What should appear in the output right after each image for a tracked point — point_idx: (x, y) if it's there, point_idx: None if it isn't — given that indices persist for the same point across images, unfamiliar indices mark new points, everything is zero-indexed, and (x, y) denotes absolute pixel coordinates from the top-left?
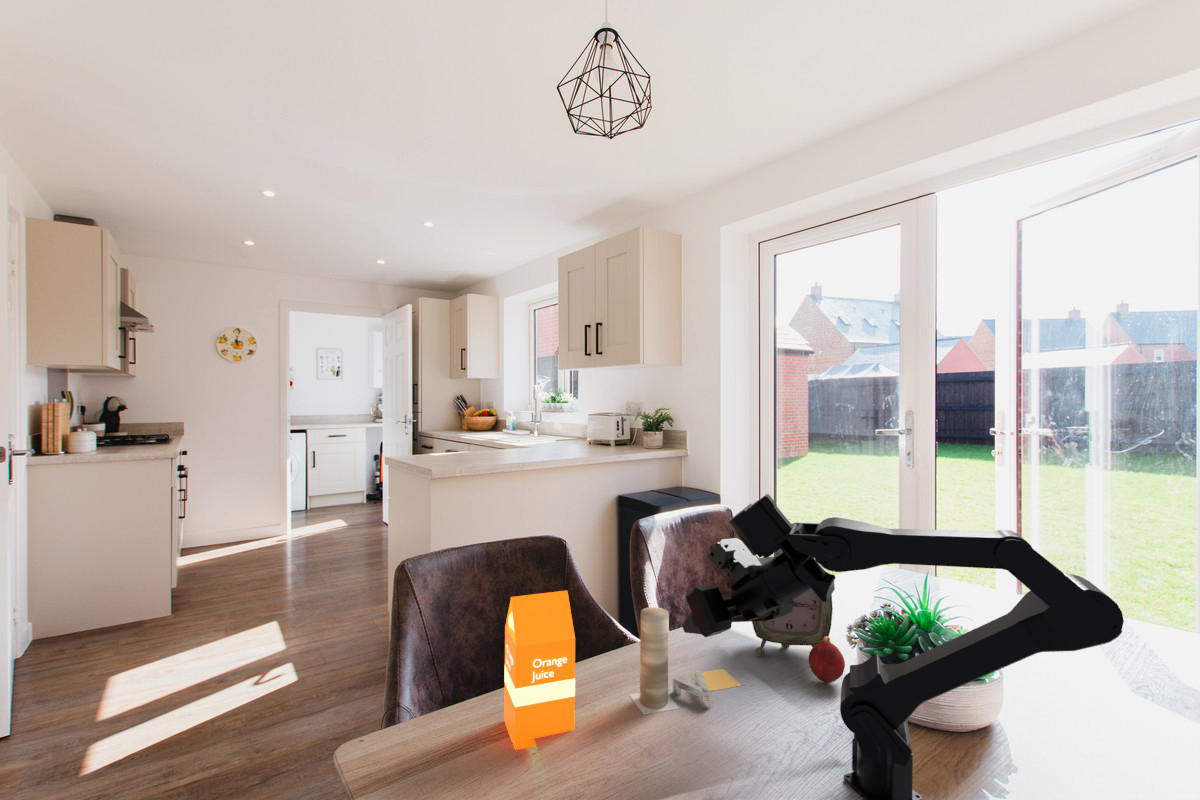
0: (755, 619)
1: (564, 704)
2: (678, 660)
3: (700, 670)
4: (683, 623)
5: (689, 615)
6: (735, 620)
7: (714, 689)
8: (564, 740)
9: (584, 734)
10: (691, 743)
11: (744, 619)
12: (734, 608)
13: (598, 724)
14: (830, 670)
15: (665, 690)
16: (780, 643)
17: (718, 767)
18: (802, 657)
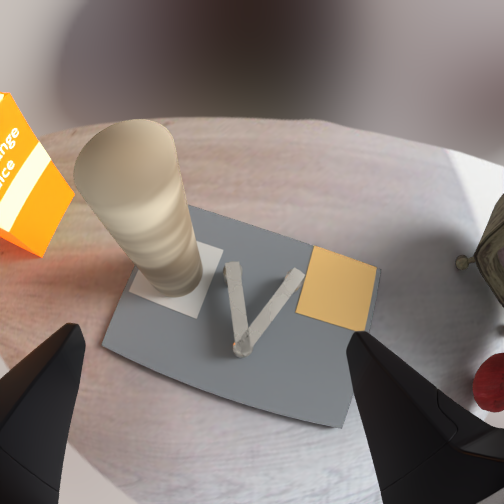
0: (384, 497)
1: (5, 231)
2: (337, 189)
3: (303, 274)
4: (54, 333)
5: (2, 382)
6: (359, 403)
7: (307, 313)
8: (32, 254)
9: (53, 260)
10: (150, 392)
11: (373, 447)
12: (389, 394)
13: (81, 253)
14: (486, 407)
15: (173, 288)
16: (491, 289)
17: (140, 456)
18: (498, 306)
